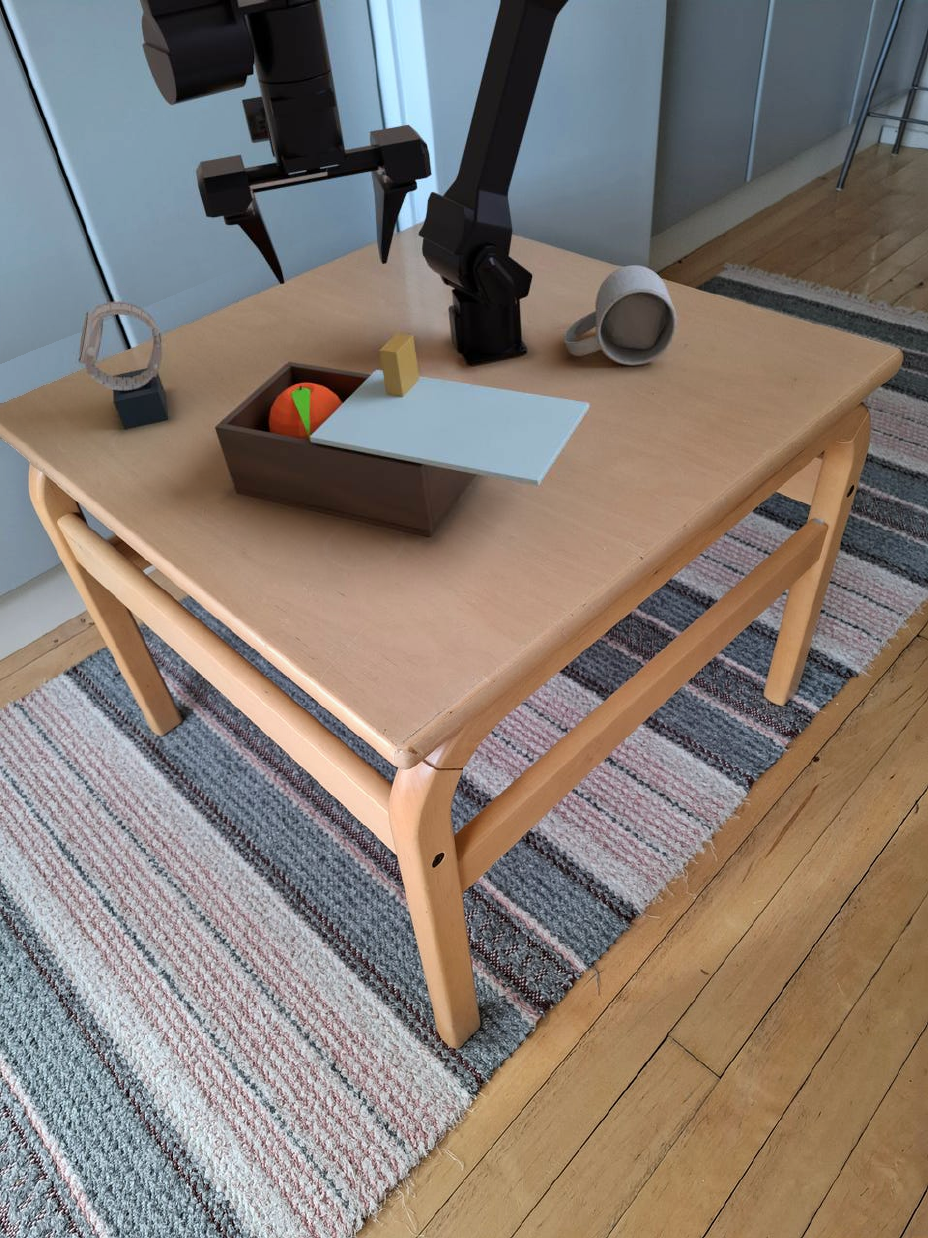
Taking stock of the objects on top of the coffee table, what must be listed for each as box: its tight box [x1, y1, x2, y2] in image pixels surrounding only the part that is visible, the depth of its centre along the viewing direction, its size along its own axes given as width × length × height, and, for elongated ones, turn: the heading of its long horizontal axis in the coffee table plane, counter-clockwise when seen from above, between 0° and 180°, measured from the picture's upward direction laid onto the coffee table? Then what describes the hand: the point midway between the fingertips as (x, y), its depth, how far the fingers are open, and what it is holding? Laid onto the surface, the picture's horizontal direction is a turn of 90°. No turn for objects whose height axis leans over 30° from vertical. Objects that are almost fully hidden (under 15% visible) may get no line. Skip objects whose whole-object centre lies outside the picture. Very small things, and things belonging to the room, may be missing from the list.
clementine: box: [269, 383, 343, 441], centre depth 79 cm, size 8×7×7 cm
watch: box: [78, 301, 169, 430], centre depth 88 cm, size 6×8×11 cm
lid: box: [310, 333, 590, 487], centre depth 70 cm, size 11×19×4 cm, turn 65°
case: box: [214, 361, 478, 538], centre depth 78 cm, size 11×19×7 cm, turn 65°
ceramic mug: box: [563, 264, 678, 366], centre depth 90 cm, size 11×8×8 cm
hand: (333, 272), depth 80 cm, fingers open, 9 cm apart
